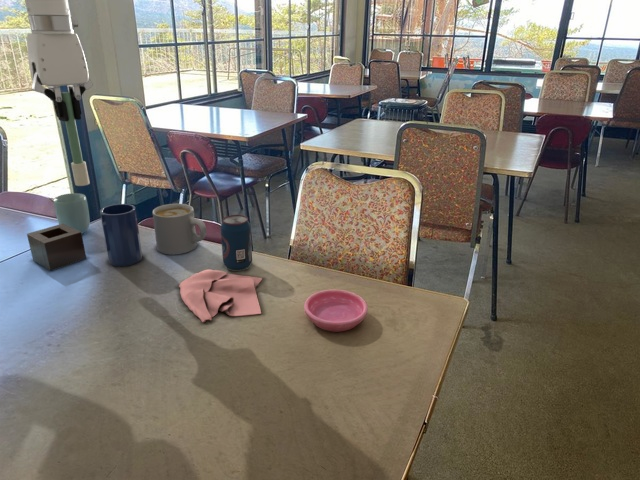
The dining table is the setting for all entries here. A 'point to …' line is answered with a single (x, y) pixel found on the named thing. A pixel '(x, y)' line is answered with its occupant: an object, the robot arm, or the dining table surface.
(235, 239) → the soda can
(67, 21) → the robot arm
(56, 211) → the cup
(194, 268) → the dining table surface
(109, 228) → the tumbler
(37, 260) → the stand
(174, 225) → the coffee mug
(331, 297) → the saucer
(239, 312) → the cloth
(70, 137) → the brush
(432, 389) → the dining table surface
